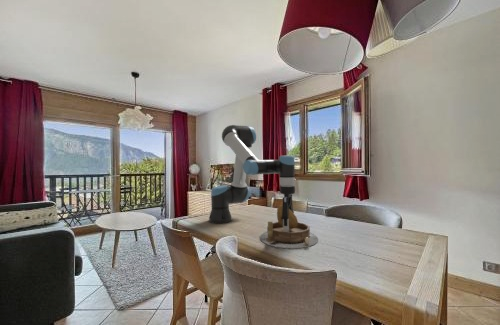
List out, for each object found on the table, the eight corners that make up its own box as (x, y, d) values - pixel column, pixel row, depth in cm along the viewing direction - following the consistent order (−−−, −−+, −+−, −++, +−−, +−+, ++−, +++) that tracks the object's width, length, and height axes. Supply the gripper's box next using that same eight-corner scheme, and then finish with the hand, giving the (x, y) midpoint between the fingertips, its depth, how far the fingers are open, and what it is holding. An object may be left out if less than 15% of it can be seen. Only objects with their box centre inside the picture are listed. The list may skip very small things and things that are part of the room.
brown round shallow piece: (286, 227, 131) (285, 211, 131) (318, 235, 115) (317, 217, 115) (253, 236, 115) (252, 218, 115) (285, 248, 99) (284, 227, 99)
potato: (268, 214, 115) (274, 204, 121) (283, 234, 118) (288, 224, 124) (284, 210, 109) (289, 200, 115) (299, 232, 112) (303, 221, 118)
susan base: (252, 244, 108) (252, 236, 108) (268, 228, 135) (268, 221, 135) (316, 251, 98) (316, 242, 98) (319, 231, 125) (319, 225, 125)
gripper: (291, 188, 104) (292, 236, 104) (297, 183, 126) (298, 223, 126) (274, 188, 107) (275, 235, 107) (284, 183, 129) (285, 222, 129)
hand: (288, 228), depth 117 cm, fingers closed on potato, 11 cm apart
